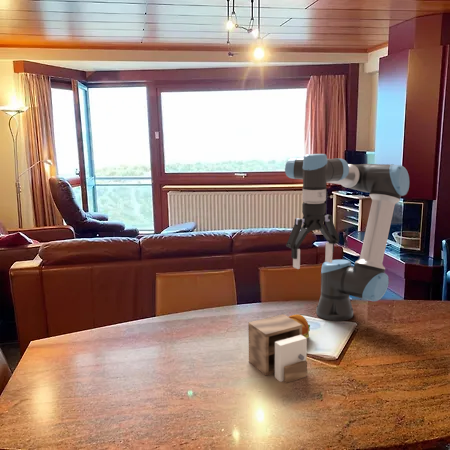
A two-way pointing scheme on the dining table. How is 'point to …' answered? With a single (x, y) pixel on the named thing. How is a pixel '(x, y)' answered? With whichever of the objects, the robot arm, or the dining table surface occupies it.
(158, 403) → the dining table surface
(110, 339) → the dining table surface
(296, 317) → the cheeseburger
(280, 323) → the cabinet
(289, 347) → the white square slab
